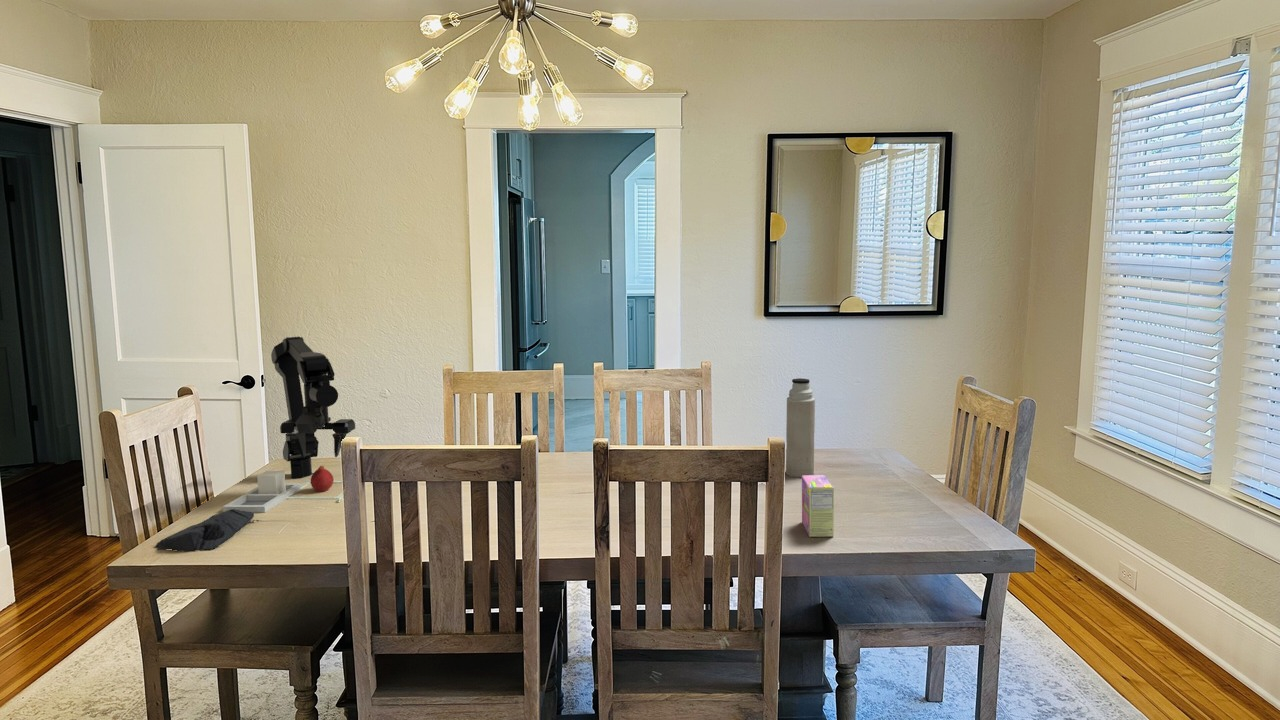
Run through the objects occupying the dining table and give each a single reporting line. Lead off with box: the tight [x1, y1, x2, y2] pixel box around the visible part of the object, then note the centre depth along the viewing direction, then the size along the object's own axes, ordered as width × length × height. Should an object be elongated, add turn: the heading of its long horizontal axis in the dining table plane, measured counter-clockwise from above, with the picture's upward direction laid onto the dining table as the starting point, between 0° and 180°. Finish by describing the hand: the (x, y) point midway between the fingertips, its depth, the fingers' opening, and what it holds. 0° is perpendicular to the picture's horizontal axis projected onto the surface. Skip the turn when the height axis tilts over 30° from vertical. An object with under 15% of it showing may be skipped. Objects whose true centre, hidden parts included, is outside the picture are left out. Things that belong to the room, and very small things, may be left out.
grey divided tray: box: [221, 483, 302, 514], centre depth 215 cm, size 20×11×2 cm, turn 177°
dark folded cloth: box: [154, 509, 255, 552], centre depth 192 cm, size 15×22×5 cm
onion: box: [310, 464, 335, 493], centre depth 223 cm, size 6×6×8 cm
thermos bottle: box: [785, 378, 816, 478], centre depth 234 cm, size 8×8×28 cm
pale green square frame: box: [285, 480, 344, 503], centre depth 223 cm, size 16×16×1 cm
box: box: [801, 474, 835, 538], centre depth 189 cm, size 10×6×12 cm, turn 178°
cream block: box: [256, 470, 286, 494], centre depth 219 cm, size 5×5×6 cm
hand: (320, 456), depth 222 cm, fingers open, 9 cm apart
